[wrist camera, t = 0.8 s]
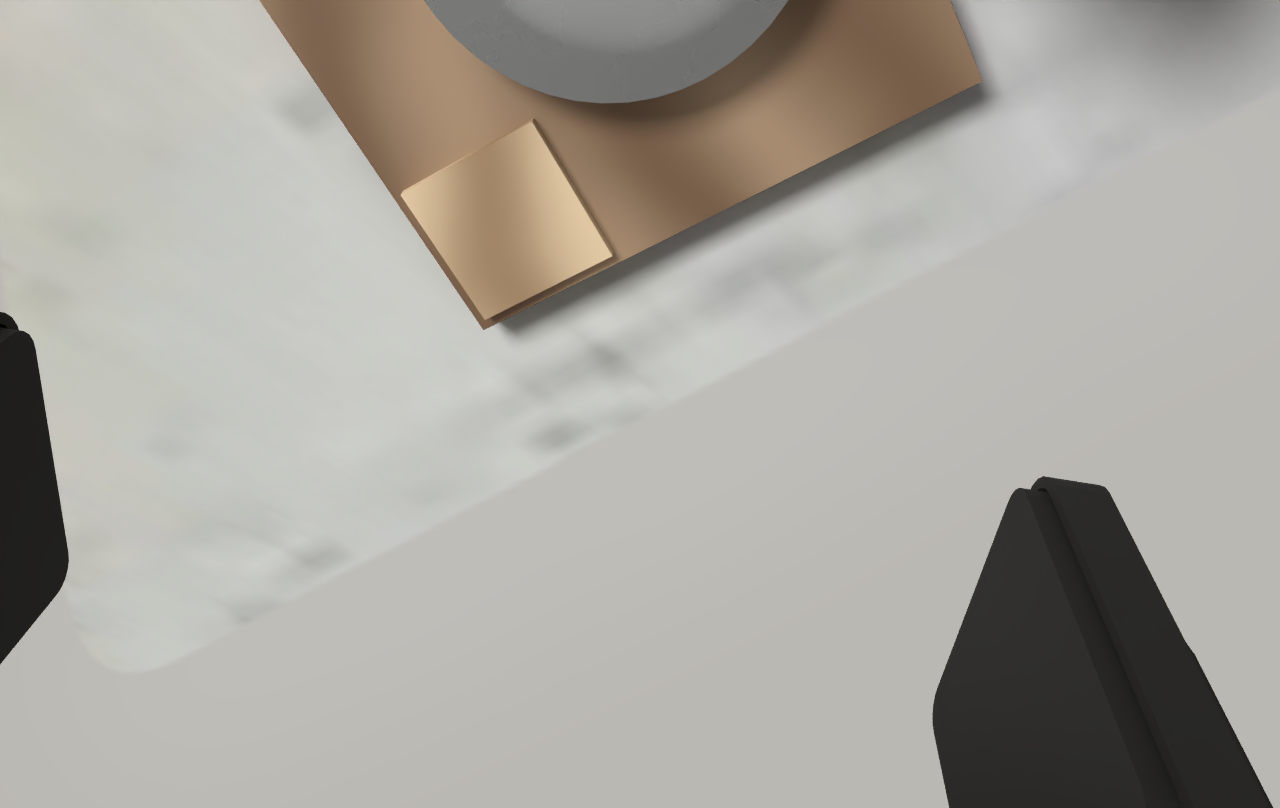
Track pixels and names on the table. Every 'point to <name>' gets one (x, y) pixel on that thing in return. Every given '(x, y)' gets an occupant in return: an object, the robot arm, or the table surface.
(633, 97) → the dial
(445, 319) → the table surface
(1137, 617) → the robot arm
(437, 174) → the dial board
